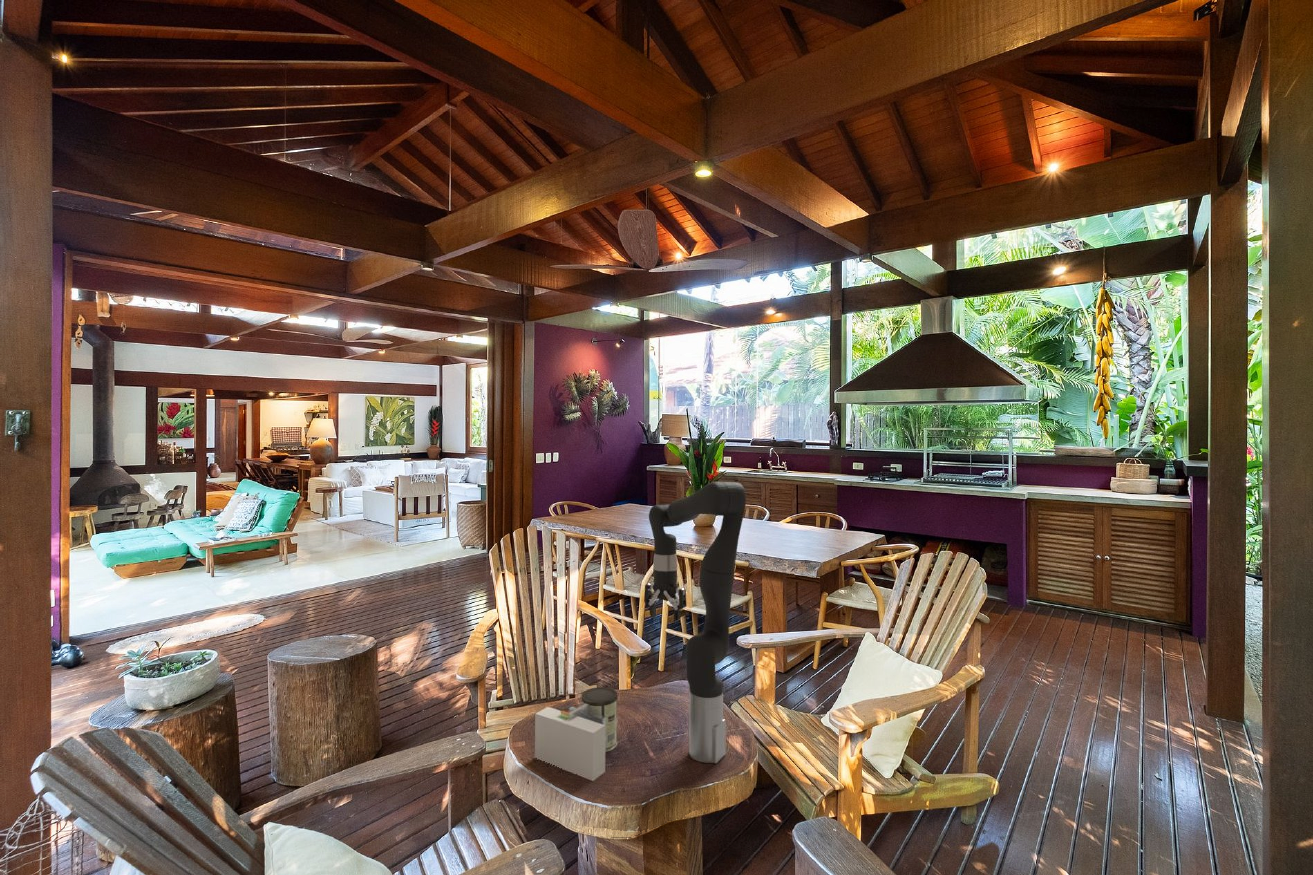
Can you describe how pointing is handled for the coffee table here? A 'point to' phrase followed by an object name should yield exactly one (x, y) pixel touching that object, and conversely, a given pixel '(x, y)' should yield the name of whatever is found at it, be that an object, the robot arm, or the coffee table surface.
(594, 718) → the grey t-shaped bracket
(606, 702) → the coffee can
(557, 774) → the coffee table surface
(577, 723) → the gauge housing
